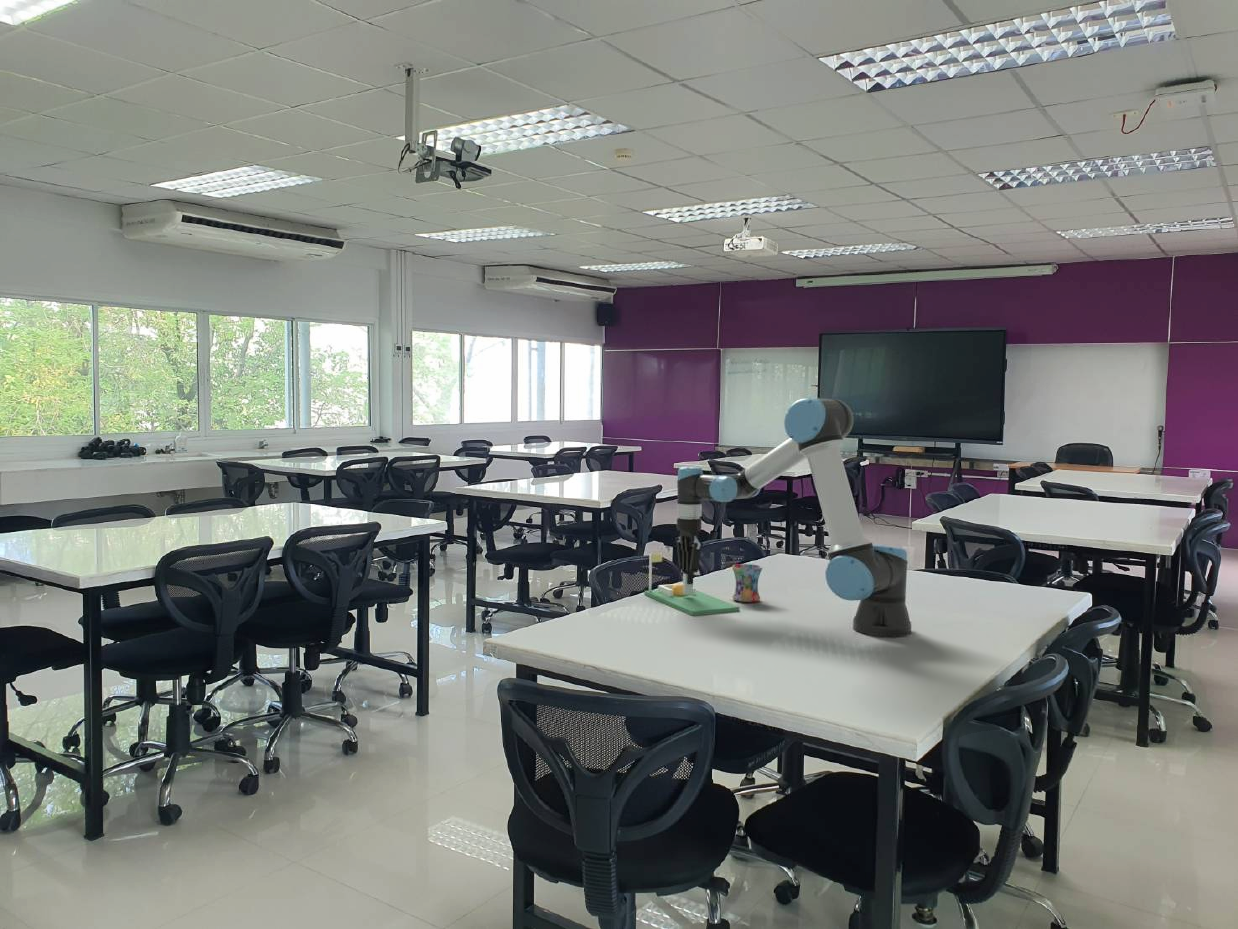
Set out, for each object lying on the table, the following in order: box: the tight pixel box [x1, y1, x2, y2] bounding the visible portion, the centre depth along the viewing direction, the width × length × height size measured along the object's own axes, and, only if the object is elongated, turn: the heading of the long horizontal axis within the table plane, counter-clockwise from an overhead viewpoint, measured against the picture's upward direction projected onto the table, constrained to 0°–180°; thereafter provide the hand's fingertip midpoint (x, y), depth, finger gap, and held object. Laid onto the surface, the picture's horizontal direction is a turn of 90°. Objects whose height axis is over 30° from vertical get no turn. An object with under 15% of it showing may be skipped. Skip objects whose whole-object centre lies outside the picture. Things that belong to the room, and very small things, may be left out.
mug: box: [731, 563, 763, 603], centre depth 269 cm, size 12×9×11 cm
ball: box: [672, 583, 685, 596], centre depth 269 cm, size 4×4×4 cm
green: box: [644, 552, 741, 616], centre depth 263 cm, size 30×16×13 cm, turn 25°
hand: (687, 594), depth 265 cm, fingers closed
